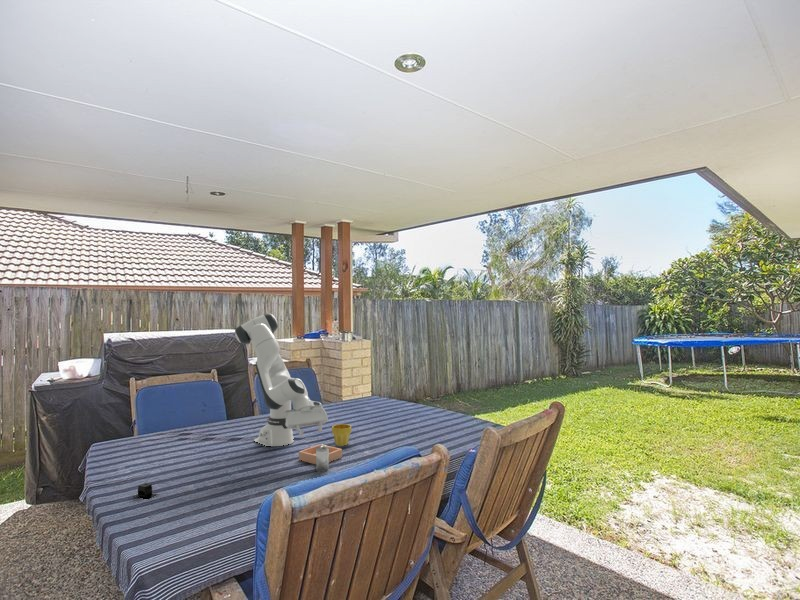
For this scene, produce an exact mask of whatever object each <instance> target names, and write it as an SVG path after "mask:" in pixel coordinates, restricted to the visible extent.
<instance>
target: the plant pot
mask: <svg viewBox="0 0 800 600" xmlns="http://www.w3.org/2000/svg"><path fill="white" fill-rule="evenodd" d="M331 433H332V434H333V439H334V443H335V446H336V445H338V446H337V447H345V446H344V445H346V446H348V445H349V441H350V435H351V433H352V425H351V424H347V423H340V424H339V423H338V424H334V425H332V426H331ZM347 444H348V445H347Z"/></svg>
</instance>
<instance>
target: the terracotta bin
mask: <svg viewBox="0 0 800 600" xmlns="http://www.w3.org/2000/svg"><path fill="white" fill-rule="evenodd" d="M320 445H324V446H325V444H323V443H322V444H320V443H319V444H318V445H317V444H316V445H314V446H311V447H308V448H305V449H302V450H300V451H298V460H299V461H301V460H302V461H301V462H305V463H309V464H313V465H316V448H317V447H320ZM326 446H327V447H329V463H331V461H332V462H334V461H336V459H337V460H338V458H339V459H341V458H343V449H342V448H338V447H335V446H329V445H326ZM333 460H334V461H333Z"/></svg>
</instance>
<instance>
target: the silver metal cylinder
mask: <svg viewBox="0 0 800 600" xmlns="http://www.w3.org/2000/svg"><path fill="white" fill-rule="evenodd" d="M324 445H325V444H322V445H320V447H317V448H316V464H315V465H316V466H315V471H316V472H320V471H323V472H326V471H329V470H328V469H330V467H329V466H330V462H329V447H327V446H328V445H325V446H324Z"/></svg>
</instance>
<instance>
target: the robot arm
mask: <svg viewBox="0 0 800 600" xmlns="http://www.w3.org/2000/svg"><path fill="white" fill-rule="evenodd" d="M278 325H279V324H278V321H277V318H276V316H274V314H273V313H270V312H268V313H264V314H262V315H260V316H257V317H254V318H252V319H250V320H248V321H246V322H244V323H243V324H240V325H238V326H236V328H235V331H234V332H235V333H234V335H235V339H236V341H238V342H239V343H240V344H241V345H250V343H251V344H252V348H253V350H254V353H255V355H256V362H255V369H256V370H255V371H256V373H257V377H258V381H259V384H260V387H261V390H262V395H263V401H264V403H265V406H266V407H267V408H268V409H270V410H269V414H270V415H269V417H268V418H267V419H266V421H267V423H266V425H263V427H262V428H261V429H259V432H258V437H257V438H255V439H254V440H253V442H254V441H255V443H256V442H258V443H257V444H259V443H260V444H259V445H261V444H263V445H262V446H264V445H265V446H264V447H266V446H271V447H283V445H284V446H288V444H289V445H291V444H293V443H294V440H293V439H295V437H294V433H293V429H295V431H296V432H297V433H298V434H299V436H303V435H304V434H305V433H304V429H301V428H304V427H310V426H311V427H312V426H318V427H317V431H318V433H321V432H323V428H322V427H323V425H324V424H326V423H327V422H328V419H329V415H328V414H327V412H326V409H324V407H323V406H322V403H321V402H320V401H314V400H311V398H310V397H309V395H308V394H309V393H308V390H307V387H306V385H305V384H304V382H303V381H302V379H300V378H296V377H291V373H289V370H288V368H287V367H286V364H285V362H284V360H283V358H282V356H281V354H280V350H281V348H280V344H279V342H278V340H277V339H276V336H275V335H274V333H275V332H276V331H277V329H278V327H279V326H278ZM292 408H293V409H292Z"/></svg>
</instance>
